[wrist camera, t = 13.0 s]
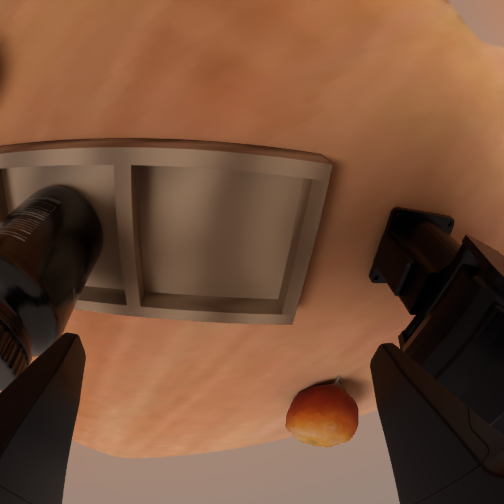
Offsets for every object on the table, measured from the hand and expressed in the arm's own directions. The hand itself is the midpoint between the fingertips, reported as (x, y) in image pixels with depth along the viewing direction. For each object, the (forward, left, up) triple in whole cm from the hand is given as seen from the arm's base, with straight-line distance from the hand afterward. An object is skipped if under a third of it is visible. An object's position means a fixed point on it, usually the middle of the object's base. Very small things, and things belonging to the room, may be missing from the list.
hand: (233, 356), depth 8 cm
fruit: (-12, +23, -13) cm, 29 cm away
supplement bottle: (+11, +3, -12) cm, 17 cm away
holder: (+6, +3, -13) cm, 15 cm away
